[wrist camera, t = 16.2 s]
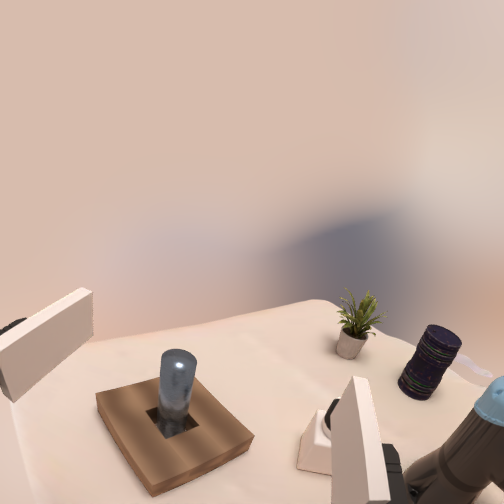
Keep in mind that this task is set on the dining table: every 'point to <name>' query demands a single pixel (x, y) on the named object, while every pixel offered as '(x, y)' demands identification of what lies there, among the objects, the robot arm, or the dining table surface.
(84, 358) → the dining table surface
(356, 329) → the house plant
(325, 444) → the medicine bottle
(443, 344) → the storage jar
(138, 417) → the socket block
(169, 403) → the pin
